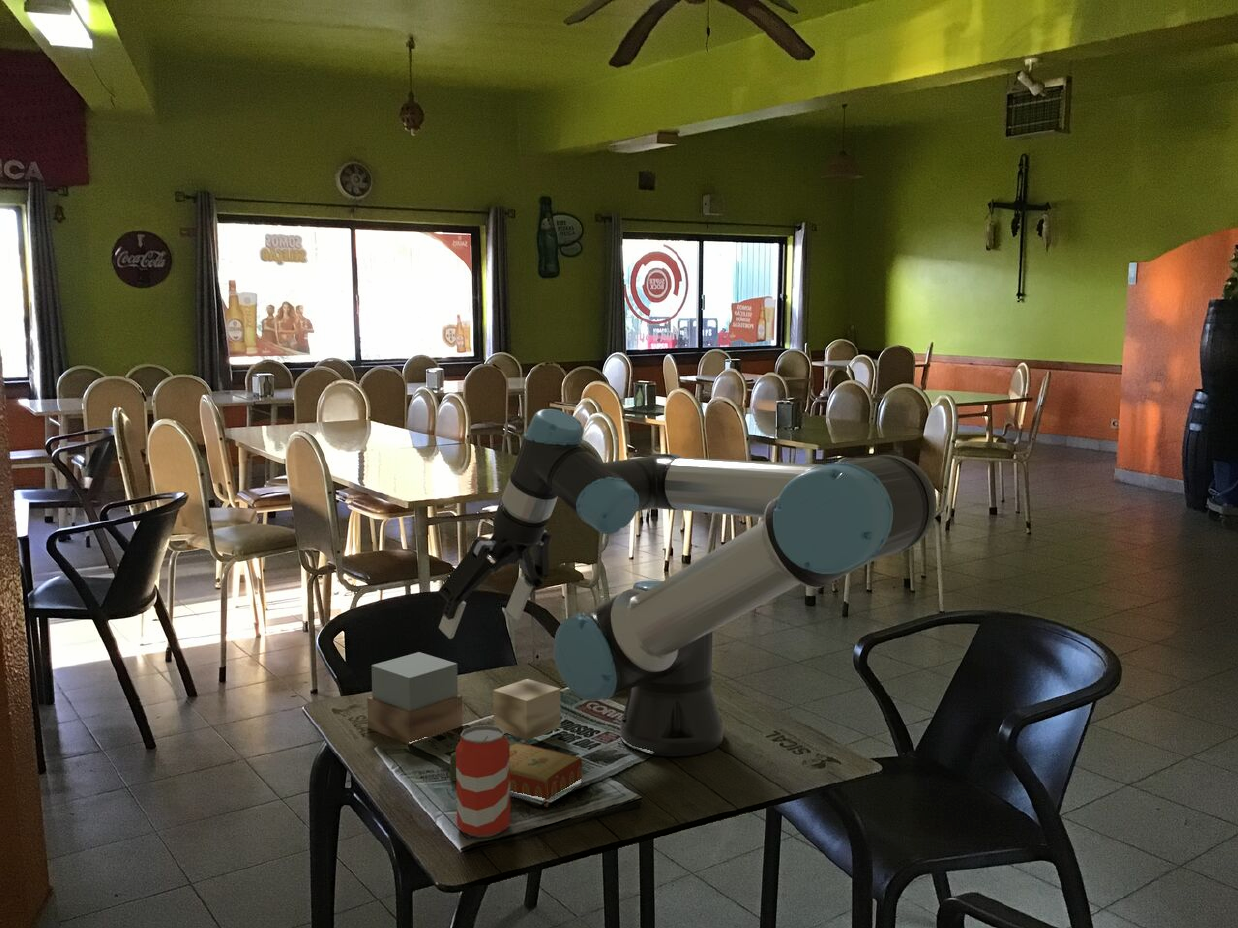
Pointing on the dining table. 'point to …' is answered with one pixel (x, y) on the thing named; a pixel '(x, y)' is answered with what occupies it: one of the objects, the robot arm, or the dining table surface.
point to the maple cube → (527, 708)
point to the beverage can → (483, 781)
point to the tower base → (414, 719)
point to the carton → (537, 770)
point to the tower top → (414, 681)
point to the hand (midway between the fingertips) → (480, 623)
